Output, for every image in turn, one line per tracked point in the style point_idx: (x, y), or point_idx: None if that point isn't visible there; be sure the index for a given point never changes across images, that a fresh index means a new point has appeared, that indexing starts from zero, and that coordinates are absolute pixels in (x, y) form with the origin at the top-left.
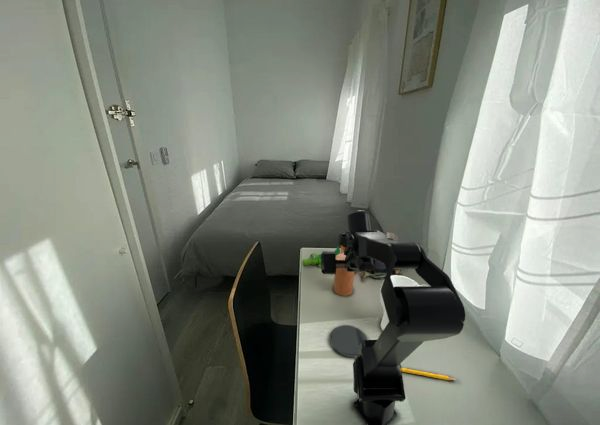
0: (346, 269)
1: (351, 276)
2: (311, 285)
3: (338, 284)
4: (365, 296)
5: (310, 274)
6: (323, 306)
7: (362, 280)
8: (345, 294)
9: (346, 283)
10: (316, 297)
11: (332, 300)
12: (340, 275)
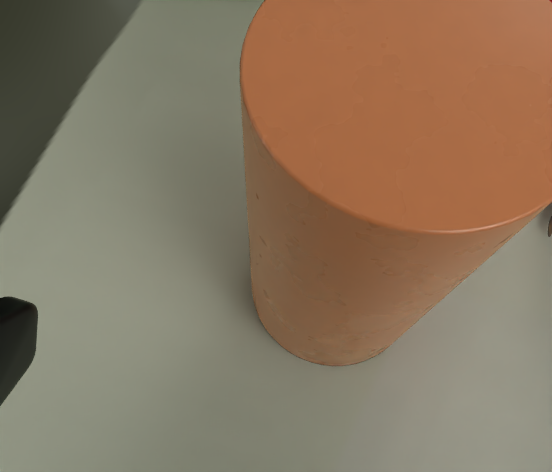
0: (354, 272)
1: (416, 312)
2: (106, 159)
3: (262, 295)
4: (493, 428)
5: (164, 42)
6: (65, 436)
7: (548, 228)
8: (318, 361)
9: (335, 336)
10: (69, 306)
11: (179, 385)
12: (275, 268)
